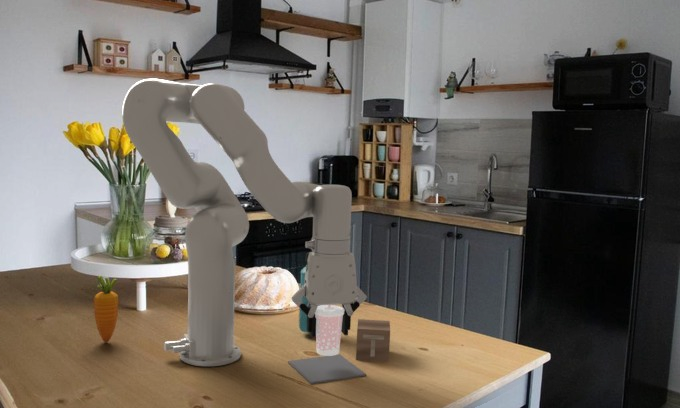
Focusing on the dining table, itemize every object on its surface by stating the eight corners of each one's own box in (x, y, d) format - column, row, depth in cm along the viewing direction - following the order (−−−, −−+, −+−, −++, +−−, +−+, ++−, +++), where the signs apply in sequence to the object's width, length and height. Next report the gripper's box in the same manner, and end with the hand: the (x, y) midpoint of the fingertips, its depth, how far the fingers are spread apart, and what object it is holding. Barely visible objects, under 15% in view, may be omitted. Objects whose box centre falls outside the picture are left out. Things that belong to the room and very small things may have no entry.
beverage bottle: (322, 340, 148) (325, 255, 146) (294, 337, 149) (297, 253, 147) (328, 332, 154) (331, 251, 152) (301, 329, 156) (304, 248, 153)
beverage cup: (328, 344, 134) (330, 279, 133) (349, 352, 130) (351, 285, 128) (306, 351, 130) (308, 283, 128) (327, 359, 126) (329, 289, 124)
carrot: (123, 341, 142) (123, 275, 140) (106, 348, 137) (106, 279, 136) (106, 337, 144) (106, 272, 142) (89, 344, 139) (88, 276, 138)
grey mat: (311, 384, 122) (311, 382, 122) (288, 362, 133) (288, 361, 133) (366, 375, 128) (366, 373, 128) (339, 356, 138) (339, 354, 138)
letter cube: (388, 362, 136) (390, 330, 135) (355, 360, 136) (357, 328, 136) (387, 351, 143) (389, 320, 142) (356, 349, 143) (358, 319, 143)
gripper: (292, 251, 122) (290, 342, 124) (378, 249, 126) (374, 337, 128) (285, 244, 129) (283, 330, 131) (366, 242, 133) (363, 326, 135)
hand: (328, 333), depth 130 cm, fingers closed on beverage cup, 6 cm apart
